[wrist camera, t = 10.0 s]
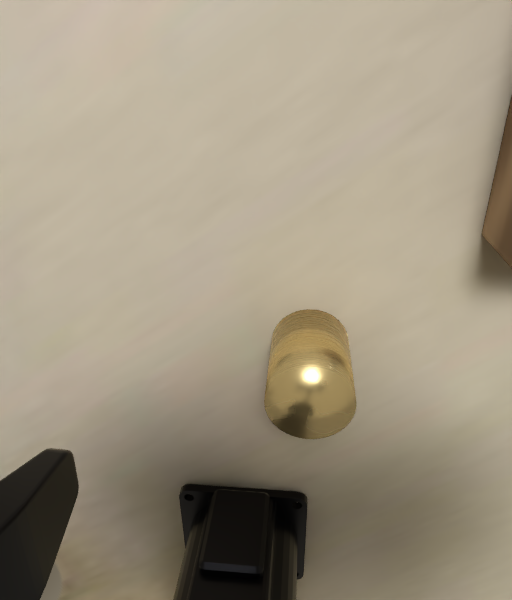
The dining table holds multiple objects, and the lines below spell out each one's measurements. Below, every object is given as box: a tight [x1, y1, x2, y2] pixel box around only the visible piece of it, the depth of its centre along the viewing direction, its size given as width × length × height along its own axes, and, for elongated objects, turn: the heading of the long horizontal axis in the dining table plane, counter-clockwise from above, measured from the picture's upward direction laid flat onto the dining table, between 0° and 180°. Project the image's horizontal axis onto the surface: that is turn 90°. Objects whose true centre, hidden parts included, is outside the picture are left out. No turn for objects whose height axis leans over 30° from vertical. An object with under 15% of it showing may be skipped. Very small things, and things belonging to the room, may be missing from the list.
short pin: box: [264, 310, 356, 439], centre depth 19 cm, size 3×3×4 cm
